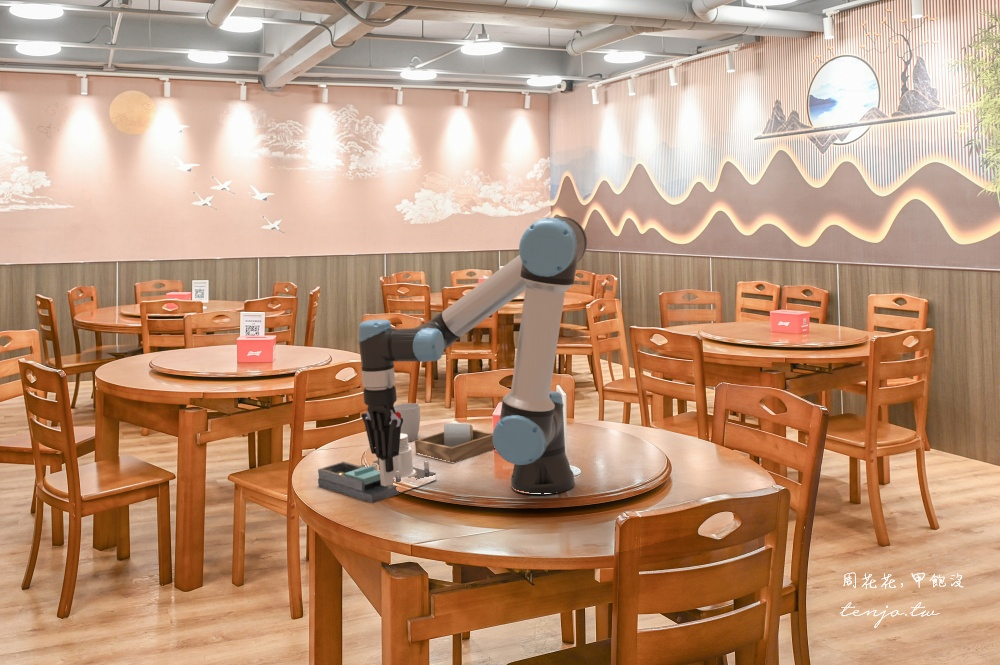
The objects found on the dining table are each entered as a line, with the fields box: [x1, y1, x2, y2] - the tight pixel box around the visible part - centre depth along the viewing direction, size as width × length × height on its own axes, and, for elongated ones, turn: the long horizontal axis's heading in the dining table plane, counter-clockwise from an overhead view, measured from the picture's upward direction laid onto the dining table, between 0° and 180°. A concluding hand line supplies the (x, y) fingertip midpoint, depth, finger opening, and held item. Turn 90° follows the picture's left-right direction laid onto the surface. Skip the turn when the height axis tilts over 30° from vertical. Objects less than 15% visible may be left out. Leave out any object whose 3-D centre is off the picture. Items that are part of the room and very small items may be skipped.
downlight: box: [393, 433, 416, 478], centre depth 225 cm, size 8×7×10 cm
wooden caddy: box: [414, 429, 495, 463], centre depth 250 cm, size 15×17×4 cm
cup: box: [394, 402, 421, 442], centre depth 266 cm, size 8×8×10 cm
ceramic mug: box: [443, 422, 473, 447], centre depth 253 cm, size 11×8×8 cm
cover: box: [344, 466, 380, 485], centre depth 219 cm, size 8×6×2 cm
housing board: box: [317, 459, 437, 504], centre depth 226 cm, size 22×20×5 cm
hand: (387, 484), depth 213 cm, fingers closed
